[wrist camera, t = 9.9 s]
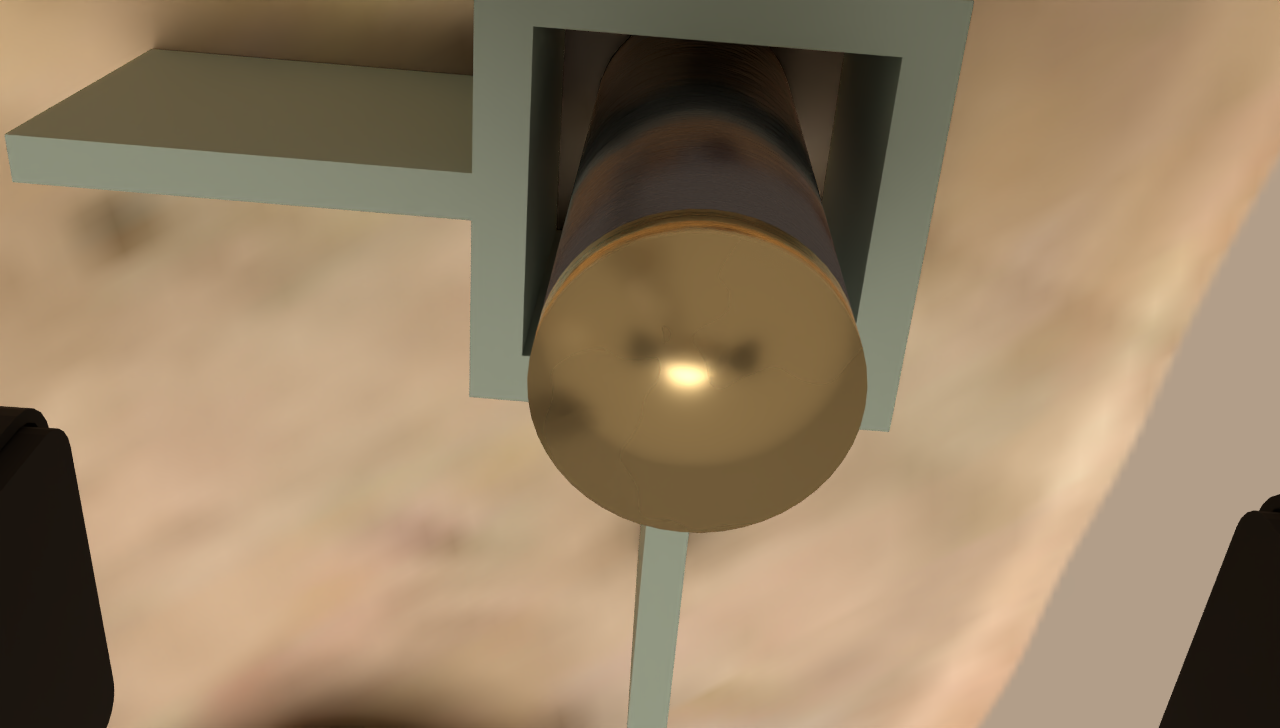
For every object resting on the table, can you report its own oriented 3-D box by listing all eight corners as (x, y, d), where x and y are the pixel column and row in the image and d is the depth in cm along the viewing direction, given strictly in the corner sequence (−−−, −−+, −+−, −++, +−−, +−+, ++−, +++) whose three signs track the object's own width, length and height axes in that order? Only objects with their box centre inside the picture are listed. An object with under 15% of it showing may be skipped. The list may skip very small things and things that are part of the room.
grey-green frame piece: (133, -125, 23) (-33, -84, 18) (908, -59, 23) (973, 1, 18) (203, 518, 30) (98, 687, 25) (802, 568, 30) (827, 747, 25)
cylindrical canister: (602, 5, 24) (532, 218, 13) (804, 22, 24) (894, 249, 13) (591, 196, 26) (521, 518, 15) (778, 212, 26) (840, 545, 15)
